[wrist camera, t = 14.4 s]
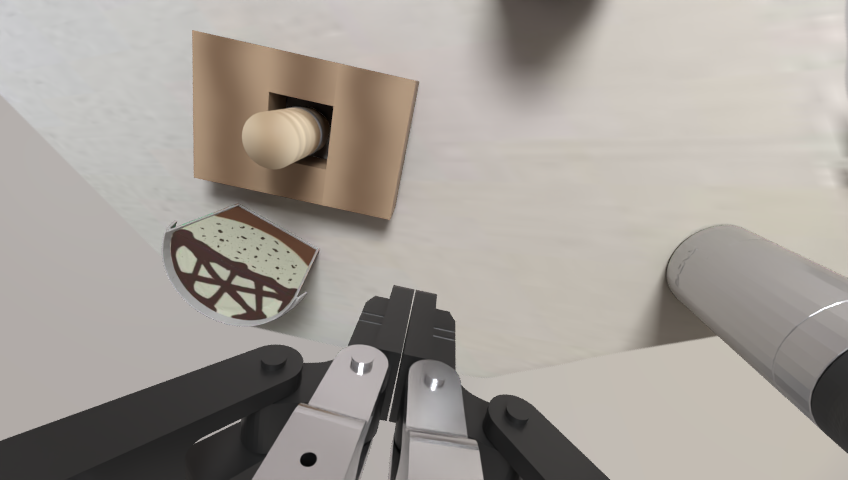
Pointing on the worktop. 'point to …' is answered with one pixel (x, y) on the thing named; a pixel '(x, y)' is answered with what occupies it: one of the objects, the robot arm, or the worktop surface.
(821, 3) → the worktop surface
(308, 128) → the peg
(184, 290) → the food container
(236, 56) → the board
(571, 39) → the worktop surface
